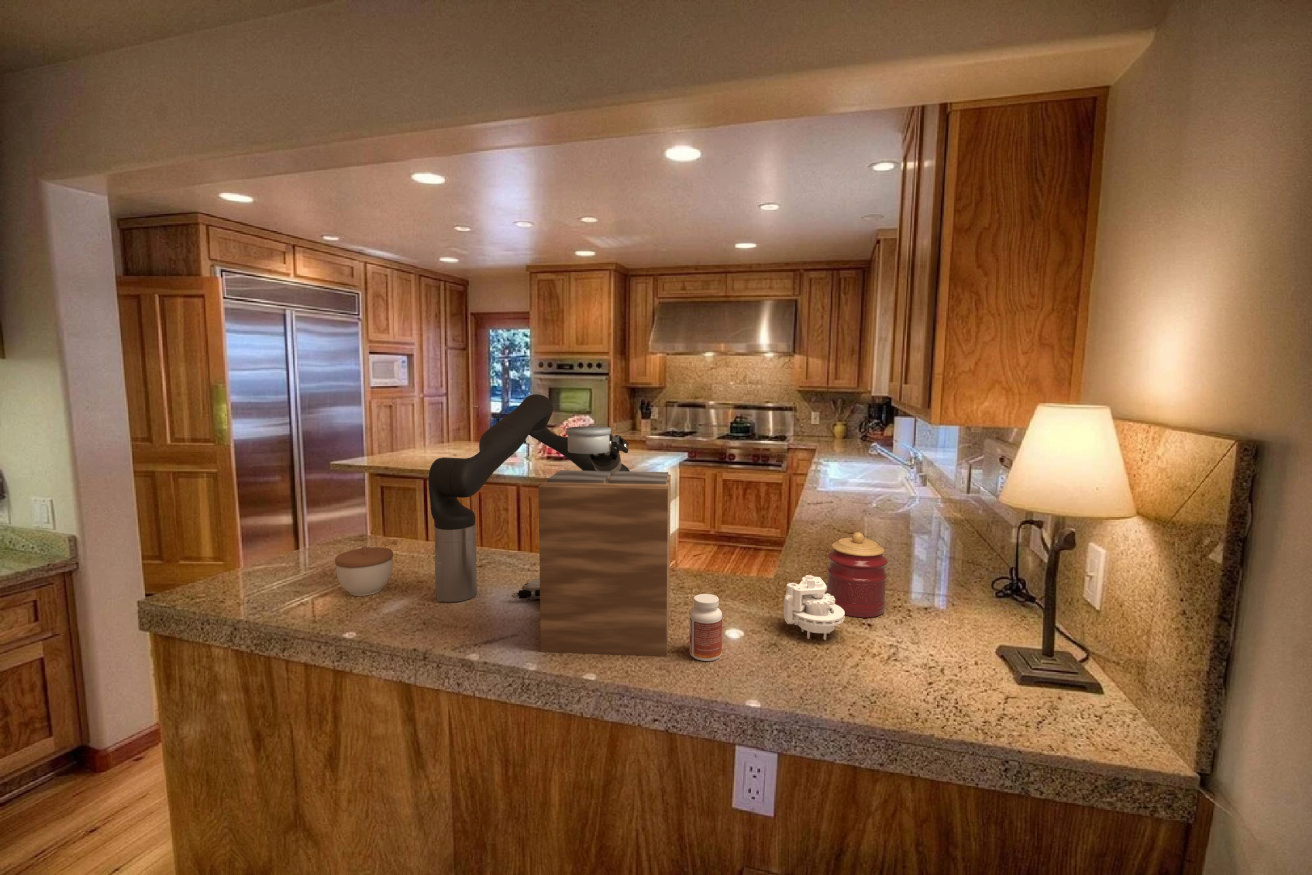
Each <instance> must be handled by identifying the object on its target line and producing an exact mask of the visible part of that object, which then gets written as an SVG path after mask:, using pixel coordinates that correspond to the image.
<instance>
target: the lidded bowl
mask: <svg viewBox="0 0 1312 875" xmlns="http://www.w3.org/2000/svg"><path fill="white" fill-rule="evenodd" d="M393 559H394V552H393V550H392V549H391V548H388V547H379V546H378V547H377V546H375V547H374V546H373V547H372V546H371V547H368V546H367V545H364V546H363V545H362V546H361V548H356V549H355V548H354V549H351V550H348V551H344V552H342V553H339V554H338V555H336V556H335V558H334V563H335V571H336V576H337V580H338V583H339V585H340V586H341V587H342V589H343V590H345V591H346V592H348V593H349V595H350V596H353V597H366V596H371V595H375V594H377V593H380V592H381V591H382V590H383V588H384V587H385V586H386V585H387V583H388V582H389V580H390V579H391V576H392V572H393V565H394V564H393V563H394V560H393Z"/></svg>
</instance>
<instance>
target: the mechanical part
mask: <svg viewBox="0 0 1312 875" xmlns="http://www.w3.org/2000/svg"><path fill="white" fill-rule="evenodd" d="M785 588H786V589H785V590H786V593H785V596H784V600H783V618H784V620H785V622H786V624H787V625H794V626H799V627H800V629H801V630H800V631H801V632H802V633H804V632H805V631H806V638H807V639H809V640H810V637H811V633H814V634H823V640H824V641H827V634H828V635H830V633H831V632H833V631H834V630H835V629H836V626H838V625H841V624H842V623H843V622H844V621H845V618H846V617H845V616H846V615H845V612H844V610H843V609H842V608H841V607H840V606H838V605H836V604H834V603H835V598H834V597H833V596H831V595H830V594H828V593H827V583H825V582H824V580H823V579H822V578H821V577H820V576H813V575H810V574H809V575H808V574H807V575H806V574H805V576H802V578H801V581H800V583H796V582H788V583H787V584H786V587H785ZM826 593H827V594H826Z"/></svg>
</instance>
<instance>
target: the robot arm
mask: <svg viewBox="0 0 1312 875" xmlns="http://www.w3.org/2000/svg"><path fill="white" fill-rule="evenodd" d="M553 412H554V405H553V402H552V400H551V399H549V397H547V396H546V395H543V394H538V393H537V394H536V393H534V394H530V395H528V396H526V397H525V398H524V399H523V400H522V401H521V403H519V405H517V407H516V408H515V409H514V410H512V411H511V412H510V413H508V414H507V415H505V416H504V417H503V418H501V419H500V420H498V421H497V422H496V423H495V424H493V425H492V426H490V427H489V428H488V429H487V430H486V431H484V432H483V433H482V435H481V437H480V439H479V441H478V442H479V443H478V449H479V452H477V453H476V454H475V455H473V456H470V457H438V458H437V459H435V460H434V461H432V464H431V465H430V467H429V473H428V480H427V481H428V493H429V494H428V495H429V504H430V505H429V506H430V514H431V517H432V520H433V523H434V525H433V526H434V527H433V529H434V553H435V555H434V572H435V573H434V574H435V575H434V578H435V579H434V580H435V596H436V602H437V603H439V602H440V603H441V602H446V603H454V602H455V603H457V602H463V601H466V600H469V599H472V598H474V597H475V596H477V594H478V576H477V575H478V573H477V571H478V570H477V569H478V568H477V530H476V513H475V512H474V511H473V510H472V509H470V508H468V507H466V506H464V505H463V504H462V503H461V502H460V501H459V499H458V498H461V499H462V498H470V497H472V496H474V495H475V494H477V492H479V491H480V489H482V487H483V486H484V485H485V484H486V482H488V480H489V479H490V478H491V476H492V475H493V474H494V473H495V472H496V471H497V469H498V468H499V467H501V466H502V465H503V464H504V462H506V461H507V460H509V458H511V457H512V456H513V455H514V454H515V453H516V452H517V451H518V450H519V449H520V448H521V447H522V446H523V444H524V443H525V441H526V440H527V439H528V437H529V436H530V437H532V438H533V439H535V440H536V441H539V442H540V443H542V444H543V445H545V446H546V447H548V448H551V449H552V450H554V451H555V452H558V453H559V454H561V455H563V457H565V458H566V459H567V460H569V461H570V462H571V463H573V464H574V465H575V466H576V467H578V468H579V469H580V470H581V471H612V474H614V473H615V472H616V471H628V472H631V471H630V469H629V467H628V466H626V465H625V464H623V463H622V457H621V453H620V452H623V453H624V454H629V448H630V447H629V444H630V443H629V442H628V441H627V440H626V439H624V438H623V437H622V436H621V435H619V434H616V435H613V434H612V433H611V434H610V435H609V452H606V453H598V454H577V453H570V452H568V436H562V435H559V434H557V433H554V432H553V431H551V430H550V429H549V428H548V424H549V421H550V420H551V417H552V415H553Z"/></svg>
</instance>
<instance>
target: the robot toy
mask: <svg viewBox="0 0 1312 875" xmlns="http://www.w3.org/2000/svg"><path fill="white" fill-rule="evenodd" d="M511 598H515V599H516V598H518V599H519V600H522V599H523V600H524V599H528V598H529V599H530V600H534V601H535V600H538V599H539V600H540V577H539V578H535V579H532V580H530V581H526V583H525V584H524V583H523V584H522V587H521V589H519V590H518V592H517V591H516V592H513V593H512V594H511Z"/></svg>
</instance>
